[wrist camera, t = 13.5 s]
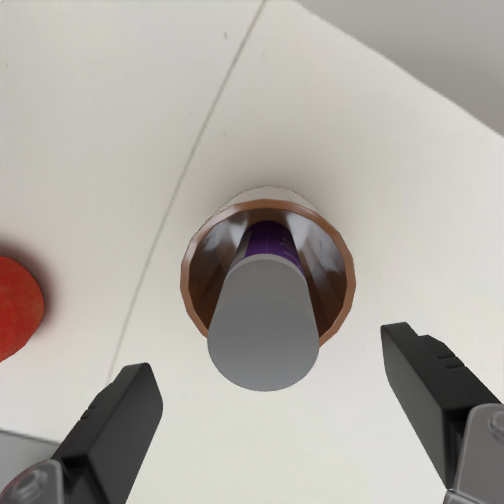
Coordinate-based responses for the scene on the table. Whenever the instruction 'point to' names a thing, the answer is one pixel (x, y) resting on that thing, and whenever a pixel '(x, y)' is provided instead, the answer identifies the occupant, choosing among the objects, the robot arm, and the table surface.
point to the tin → (307, 244)
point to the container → (264, 313)
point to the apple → (17, 306)
